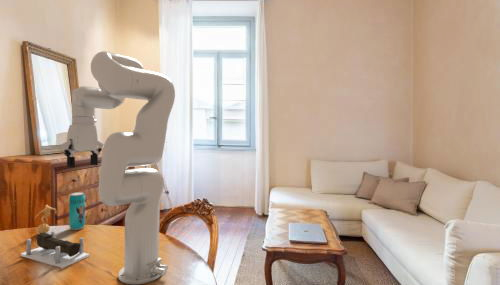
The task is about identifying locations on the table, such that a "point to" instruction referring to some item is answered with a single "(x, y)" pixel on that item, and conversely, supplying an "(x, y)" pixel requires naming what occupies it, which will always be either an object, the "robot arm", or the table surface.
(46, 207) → the figurine
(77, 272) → the table surface
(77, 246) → the dark brown rough rod
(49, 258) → the peg rack
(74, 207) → the beverage can
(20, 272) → the table surface
